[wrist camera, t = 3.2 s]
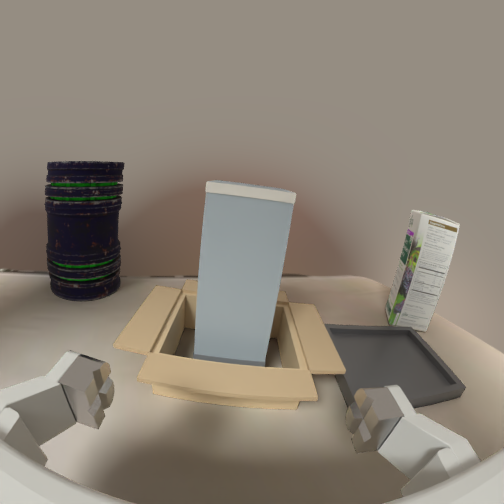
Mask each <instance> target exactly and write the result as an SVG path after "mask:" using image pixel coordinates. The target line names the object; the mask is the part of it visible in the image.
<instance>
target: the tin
mask: <svg viewBox="0 0 504 504" xmlns="http://www.w3.org/2000/svg"><path fill="white" fill-rule="evenodd" d="M295 198H296V193H293V192H291V191H288V190H285V189H280V188H273V187H266V186H259V185H252V184H244V183H236V182H228V181H219V180H214V181H208V182H207V183H206V200H205V209H204V219H203V230H202V239H201V250H200V262H199V275H198V289H197V304H196V322H195V344H194V353H193V359H199V360H206V361H213V362H221V363H230V364H239V365H249V366H261V367H265V358H266V353H267V348H268V344H269V339H270V334H271V329H272V324H273V318H274V313H275V308H276V303H277V298H278V292H279V287H280V281H281V276H282V270H283V265H284V258H285V253H286V247H287V241H288V236H289V229H290V223H291V217H292V211H293V204H295Z"/></svg>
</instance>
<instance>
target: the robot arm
mask: <svg viewBox="0 0 504 504" xmlns="http://www.w3.org/2000/svg"><path fill="white" fill-rule="evenodd" d="M110 373H111V370H110V366H109V364H108V363H107V362H104V361H101V360H98V359H95V358H92V357H89V356H86V355H83V354H79V353H76V352H73V351H71V350H70V351H67V352H66V353H65V354H64V355H63V356H62V357H61V359H60V360H59V361H58V362H57V363H56V364H55V366H54V367H53V368H52V369H51V370H50V371H49V373H48V374H47V375H46V376H45V377H43V376H39V377H37V378H34V379H31V380H28V381H25V382H22V383H19V384H16V385H13V386H10V387H7V388H4V389H1V390H0V504H136V503H132V502H129V501H125V500H122V499H119V498H116V497H113V496H110V495H107V494H105V493H102V492H99V491H97V490H94V489H91V488H89V487H87V486H84V485H82V484H79V483H77V482H75V481H73V480H70V479H68V478H66V477H64V476H62V475H60V474H58V473H56V472H54V471H52V470H50V469H48V468H46V467H45V464H46V462H47V460H48V459H47V456H46V455H45V454H44V452H43V451H42V449H41V448H40V447H39V446H40V445H42V444H43V443H45V442H47V441H48V440H50V439H52V438H53V437H55V436H57V435H58V434H60V433H62V432H63V431H65V430H67V429H68V428H70V427H71V426H73V425H75V424H76V422H78V423H81V424H84V425H87V426H89V427H92V428H95V429H99V427H100V425H101V423H102V421H103V419H104V417H105V413H104V409H106V408H108V407H110V405H111V403H112V401H113V397H114V384H113V381H112V380H111V379H110V377H109V374H110ZM354 398H355V400H356V401H355V402H353V403H352V404H351V405H350V406H349V408H348V410H347V412H346V426H347V429H348V430H349V431H350V432H351V433H353V434H354V435H353V437H352V439H351V440H352V443H353V445H354V448H355V451H356V453H363V452H370V451H376V450H378V452H379V453H380V454H381V455H382V456H383V457H384V458H386V459H387V460H388V461H389V462H390V463H391V464H393V465H394V466H395V467H396V468H397V469H398V470H400V471H401V472H402V473H403V474H404V475H406V476H407V477H408V478H409V479H410V481H409V482H408V483H406V484H405V485H404V486H403V487H402V489H401V493H402V496H403V497H402V498H399V499H395V500H392V501H389V502H386V503H382V504H504V448H502V449H501V450H499V451H497V452H496V453H494V454H493V455H491V456H490V457H488V458H486V459H485V460H483V461H480V459H479V457H478V456H477V454H476V453H475V451H474V450H473V448H472V446H471V445H470V443H469V442H468V440H467V439H466V438H464V437H462V436H460V435H458V434H456V433H455V432H453V431H451V430H449V429H447V428H445V427H444V426H442V425H440V424H438V423H436V422H435V421H433V420H431V419H429V418H427V417H426V416H424V415H422V414H417V413H416V412H415V410H414V408H413V407H412V405H411V404H410V402H409V400H408V399H407V397H406V396H405V394H404V393H403V391H402V389H401V388H400V387H399V386H398V385H390V386H384V387H383V386H382V387H372V388H360V389H359V390H357V391H356V393H355V395H354Z"/></svg>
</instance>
